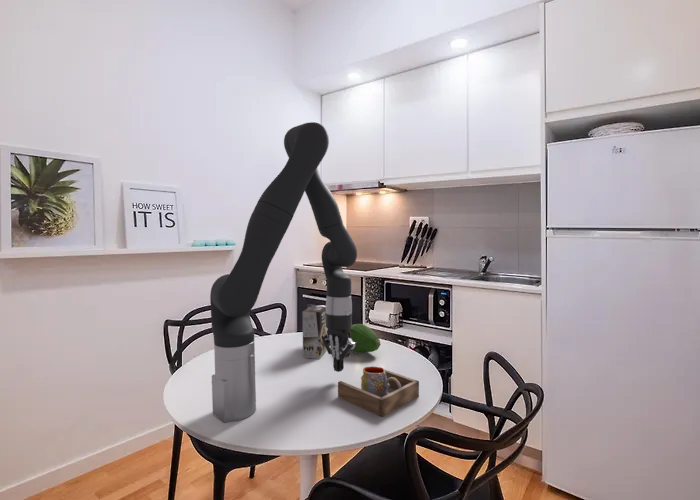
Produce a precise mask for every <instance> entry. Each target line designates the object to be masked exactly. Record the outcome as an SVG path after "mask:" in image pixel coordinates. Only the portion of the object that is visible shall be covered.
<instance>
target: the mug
mask: <svg viewBox="0 0 700 500" xmlns="http://www.w3.org/2000/svg"><path fill="white" fill-rule="evenodd" d="M385 370H386V369H385V368H383V367H381V366H380V367H378V366H374V365H373V366H365V367H363V369H362V373H363V374H362V375H361V377H360V380H361V381H360V389H362V390H364V391H367V392H369V393H372V394H374V395H377V396H379V397H383V396H385V395H387V394H389V393H390V392H389V391H388V389H389V388H391V387H390V384H389V383H388V381H390V380H393V381H395V382H396V383H397V386H398V389H399V388H401V384H400V383H399V381H398V380H397V379H396V378H394V377H390V378H388V379H387V376H386V373H385Z"/></svg>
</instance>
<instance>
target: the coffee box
mask: <svg viewBox="0 0 700 500" xmlns="http://www.w3.org/2000/svg"><path fill="white" fill-rule="evenodd" d="M325 334H327V328H326V307H316V306H308V307H307V308H306V309H304V310H302V358H305V359H306V358H307V359H317V360H320V359H321V358H322V357H323V356H324V355H325V353H326V352H327V349H326V347H325V345H324V343H323V340H322V338H321V336H323V335H325Z"/></svg>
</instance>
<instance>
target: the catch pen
mask: <svg viewBox="0 0 700 500" xmlns="http://www.w3.org/2000/svg"><path fill="white" fill-rule="evenodd" d="M384 370H385V373H386V376H387V379H388V378H390V377H394V378H396V379H397V380H398V381H399V383H400V384H401V388H399V389H398V386H397V383H396V382H395V381H393V380H390V381H388V383H389V384H390V387H389V388H391V389H393V390H394V391H391V392H389V394H387V395H385V396H383V397H379V396H377V395H374V394H372V393H369V392H367V391H364V390H362V389H361V388H359V387H357V386H354V385H352V384H349V383H347V382H344V381H342V380H340V381H339V380H338V381H337V397H338V398H340V399H342V400H344V401H347V402H348V403H350V404H353V405H356V406H357V407H359V408H361V409H364V410H366V411H368V412H371V413H373V414H375V415H377V416H379V417H384V416H387V415H388V414H389V413H392V412H393V411H395V410H397V409H398V408H400V407H402V406H404V405H406V404H408V403H409V402H412V401H413V400H414V399H416V398H418V397H419V396H420V381H419V380H416V379H414V378H410V377H407V376H405V375H401V374H398V373H395V372H393V371H390V370H387V369H384Z"/></svg>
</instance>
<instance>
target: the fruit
mask: <svg viewBox="0 0 700 500" xmlns="http://www.w3.org/2000/svg"><path fill="white" fill-rule="evenodd" d="M350 334H351V339H352V341H353V342H356V343H357V346H356V348H355V349H354V350H353V352H352V353H356V354H365V353H371V352H375V351H378V350H379V348H380V346H381V341H380V339H379V337H378V335H377V334H376V333H375V332H374V331H373V330H372V329H371V327H368V326H367V325H365V324H363V323H355V324H352V327H351V329H350Z"/></svg>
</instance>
